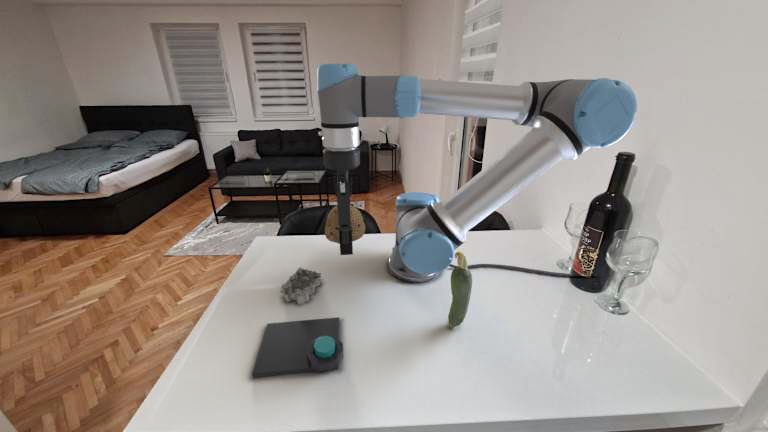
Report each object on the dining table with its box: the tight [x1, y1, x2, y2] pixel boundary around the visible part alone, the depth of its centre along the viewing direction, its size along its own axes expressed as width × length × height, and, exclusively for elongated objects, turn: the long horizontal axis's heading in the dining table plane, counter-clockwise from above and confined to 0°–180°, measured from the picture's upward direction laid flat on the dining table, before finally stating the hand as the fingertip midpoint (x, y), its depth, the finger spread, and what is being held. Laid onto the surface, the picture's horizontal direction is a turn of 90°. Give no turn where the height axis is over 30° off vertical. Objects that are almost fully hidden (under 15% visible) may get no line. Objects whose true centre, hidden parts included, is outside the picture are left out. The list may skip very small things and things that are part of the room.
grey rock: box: [279, 267, 322, 305], centre depth 80 cm, size 11×8×4 cm
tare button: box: [314, 336, 335, 359], centre depth 59 cm, size 4×4×2 cm
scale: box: [251, 316, 344, 379], centre depth 63 cm, size 17×14×3 cm
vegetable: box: [447, 251, 473, 329], centre depth 64 cm, size 4×4×20 cm
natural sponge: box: [324, 205, 366, 245], centre depth 70 cm, size 9×9×10 cm
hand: (346, 243), depth 72 cm, fingers closed on natural sponge, 9 cm apart
